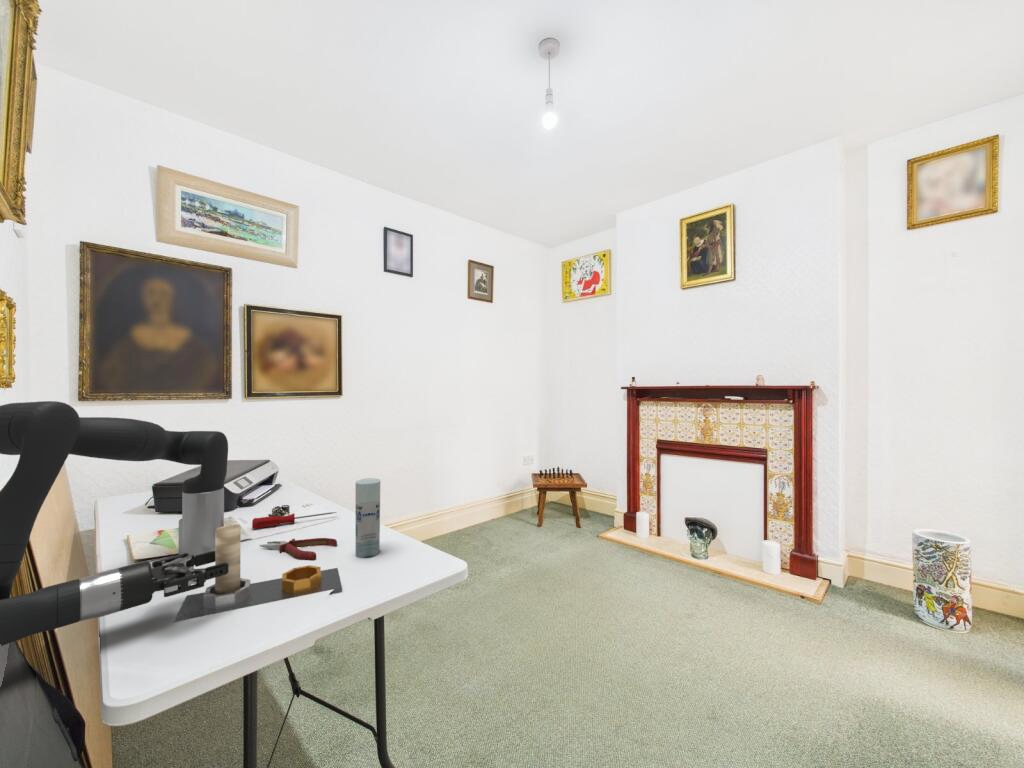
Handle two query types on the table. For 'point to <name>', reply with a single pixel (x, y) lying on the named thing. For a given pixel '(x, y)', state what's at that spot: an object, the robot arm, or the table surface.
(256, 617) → the table surface
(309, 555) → the pliers
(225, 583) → the peg
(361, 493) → the spray paint can
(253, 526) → the screwdriver
